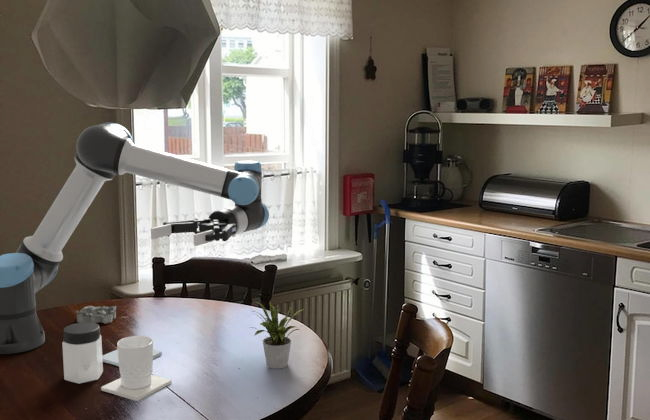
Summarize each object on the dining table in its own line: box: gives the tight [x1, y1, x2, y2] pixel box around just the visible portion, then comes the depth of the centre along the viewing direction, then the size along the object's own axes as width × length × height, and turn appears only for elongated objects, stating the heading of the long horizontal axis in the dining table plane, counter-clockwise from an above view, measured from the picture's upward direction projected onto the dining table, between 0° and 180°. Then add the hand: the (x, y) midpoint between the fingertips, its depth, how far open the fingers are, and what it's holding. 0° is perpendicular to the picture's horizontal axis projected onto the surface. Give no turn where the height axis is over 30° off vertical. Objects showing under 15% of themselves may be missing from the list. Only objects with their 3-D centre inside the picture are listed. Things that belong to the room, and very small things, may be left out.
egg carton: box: [75, 305, 117, 325], centre depth 205 cm, size 11×8×4 cm
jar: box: [61, 322, 104, 384], centre depth 164 cm, size 9×8×12 cm
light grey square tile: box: [102, 348, 163, 367], centre depth 177 cm, size 11×11×1 cm
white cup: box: [116, 335, 154, 389], centre depth 159 cm, size 8×8×10 cm
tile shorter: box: [100, 374, 172, 402], centre depth 160 cm, size 11×11×1 cm
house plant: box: [249, 300, 305, 370], centre depth 172 cm, size 14×14×16 cm
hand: (172, 237), depth 169 cm, fingers open, 13 cm apart
